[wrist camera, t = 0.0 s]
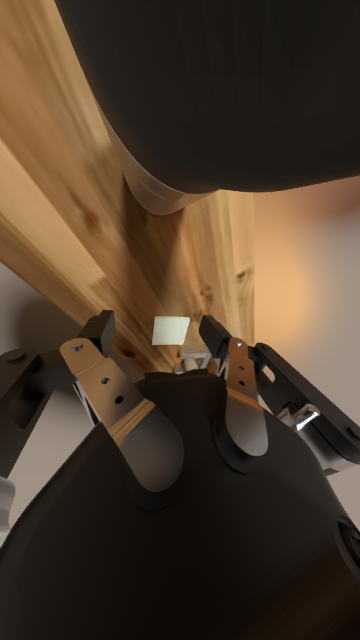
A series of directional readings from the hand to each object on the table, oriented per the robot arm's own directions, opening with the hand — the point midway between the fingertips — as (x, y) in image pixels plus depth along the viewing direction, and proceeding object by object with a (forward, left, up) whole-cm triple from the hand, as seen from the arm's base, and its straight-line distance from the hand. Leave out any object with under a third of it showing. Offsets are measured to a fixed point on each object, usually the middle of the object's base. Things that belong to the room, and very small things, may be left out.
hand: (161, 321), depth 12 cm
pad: (+15, +6, -17) cm, 24 cm away
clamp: (+27, +14, -17) cm, 35 cm away
